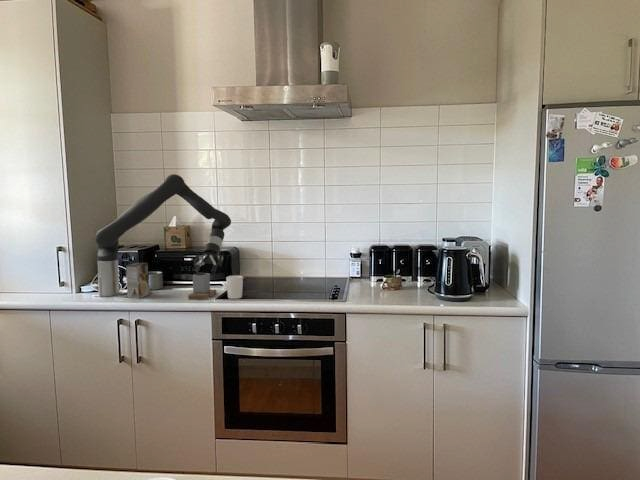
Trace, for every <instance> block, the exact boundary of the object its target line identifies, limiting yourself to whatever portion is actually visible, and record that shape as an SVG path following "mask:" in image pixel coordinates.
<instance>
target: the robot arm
mask: <svg viewBox="0 0 640 480" xmlns="http://www.w3.org/2000/svg"><path fill="white" fill-rule="evenodd" d="M175 195H176V196H179V197H180V198H182V199H183V200H185V201H186V203H188V204H189V205H190V206H191V207H192V208H193V209H195V211H197V213H199V214H200V215H201V216H202V217H204V218H205V219H206V220H211V219H212V220H213V222H212V224H211V230H210V231H211V232H210V234H209V238H208V240H207V241H206V244H205V247H204V250H203V254H202V255H200V254H198V253H197V254H196V256H195V257H194V260H193V262H192V264H193V265H194V272H195V274H197V273H199V271H200V268H201V266H204V265H206V264H207V265H208V264H209V265H210V264H211V265H212V264H213V265H212V268H211V271H210V272H211V274H212V275H214V274H215V273H216V271H217V268H221V267H222V266H223V261H224V256H223V254H220V251H221V248H222V246H223V243H224V242H223V241H224V238H225V235H226V234H225V232H224V230H225V229H227V228H228V227H230V225H232V220H231V217H230V216H229V215H228V214H227V213H225V212H223V211H221V210H219V209H217V208H215V207H214V206H213V205H211V204H210V203H209V202H208V201H207V200H206V199H204V198H203V197H202V196H200V195H199V194H197V193H196V192H195V191H194V190H192V189H191V188H190V187H189V186H188V185H187V184H186V183H185V180H184V178H183V177H182V176H180V175H178V174H175V173H174V174H173V173H172V174H169V175H168V176H167V177H166V178H165V180H164V181H163V183H161V184H160V185H159V186H157V188H155V189H154V190H153V191H150V192H149V193H148V194H146V195H144V196H142V197H140V198H139V199H137V201H135V202H133V203H132V204H131V205H130V206H129V207H128V208H127V209H126V210H125V211H124V212H122V214H120V215H119V216H118V217H117V218H116V219H115V220H114V221H113V222H111V223H109V224H107V225H106V226H104V227H103V228H101V229H99V230H98V231H97V232H95V233H96V234H95V238H94V239H95V240H94V241H95V242H96V244H97V256H96V257H97V258H96V260H97V261H96V262H97V284H98V295H99V297H111V296H117V295H119V294H120V277H119V273H120V272H119V239H120V238H121V237H122V236H123V235H124V234H125V233H126V232H128V231H129V230H130V229H132V228H134V227H135V226H138V225H139V224H140V223H142V222H143V221H145V220H146V219H147V218H149V217H150V216H152V214H153V213H154V212H156V211H157V210H158V209H160V207H161V206H162V205H163V204H164V203H165V202H166V201H167V200H169V199H171V198H172V197H173V196H175ZM217 260H218V261H217ZM216 261H217V262H216Z"/></svg>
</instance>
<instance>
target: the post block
mask: <svg viewBox="0 0 640 480" xmlns="http://www.w3.org/2000/svg"><path fill="white" fill-rule="evenodd" d="M216 294H217V289H212V288H210V292H208V293H206V294H193V292H192V293H190V294H188V295H187V299H188V300H192V301H193V300H198V301H205V300H206V299H209V298H210V297H212V296H215V295H216Z"/></svg>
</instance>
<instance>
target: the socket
mask: <svg viewBox="0 0 640 480" xmlns="http://www.w3.org/2000/svg"><path fill="white" fill-rule="evenodd" d="M210 278H211V274H210V273H208V272H207V273H206V272H198V273H194V274H193V275H192V293H193V294H206V293H208V292H210V289H211V279H210Z"/></svg>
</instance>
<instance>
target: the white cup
mask: <svg viewBox="0 0 640 480" xmlns="http://www.w3.org/2000/svg"><path fill="white" fill-rule="evenodd" d="M243 279H244V276H242V275H228V276H226V277H225V280H226V281H225V282H226V292H227V298H228V299H230V300H231V299H232V300H235V299H237V300H239V299H242V298H243V287H244V286H243V284H244V280H243Z"/></svg>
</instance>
